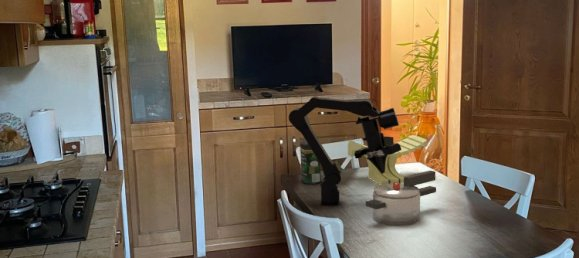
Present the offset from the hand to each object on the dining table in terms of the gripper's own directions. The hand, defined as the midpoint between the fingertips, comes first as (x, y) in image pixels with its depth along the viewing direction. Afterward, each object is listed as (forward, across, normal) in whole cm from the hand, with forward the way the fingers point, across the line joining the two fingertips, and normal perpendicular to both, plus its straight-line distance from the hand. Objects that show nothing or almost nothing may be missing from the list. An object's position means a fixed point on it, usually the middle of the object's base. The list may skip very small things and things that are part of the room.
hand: (383, 173), depth 218 cm
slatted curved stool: (+10, +26, -29) cm, 41 cm away
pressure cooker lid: (+5, -13, +4) cm, 14 cm away
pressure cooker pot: (+14, -11, +7) cm, 19 cm away
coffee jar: (+2, +46, -4) cm, 47 cm away
